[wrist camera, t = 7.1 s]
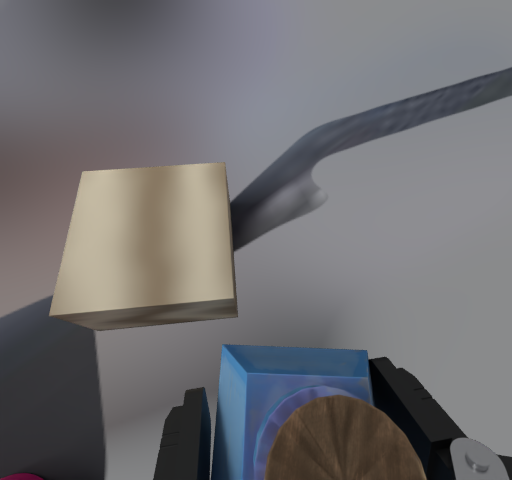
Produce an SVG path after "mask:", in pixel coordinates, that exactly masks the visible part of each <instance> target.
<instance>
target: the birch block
mask: <svg viewBox="0 0 512 480" xmlns="http://www.w3.org/2000/svg"><path fill="white" fill-rule="evenodd" d="M49 316H51V317H55V318H58V319H61V320H64V321H68V322H71V323H74V324H77V325H81V326H84V327H87V328H90V329H94V330H97V331H105V330H115V329H125V328H134V327H146V326H156V325H165V324H175V323H185V322H196V321H206V320H216V319H226V318H236V317H238V311H237V296H236V282H235V267H234V252H233V239H232V225H231V210H230V199H229V192H228V183H227V176H226V167H225V162H223V163H208V164H191V165H176V166H161V167H146V168H131V169H116V170H101V171H85V172H82V176H81V180H80V185H79V189H78V193H77V197H76V202H75V206H74V210H73V215H72V219H71V223H70V227H69V232H68V236H67V240H66V244H65V249H64V253H63V257H62V262H61V266H60V270H59V274H58V279H57V283H56V288H55V292H54V296H53V300H52V304H51V309H50V313H49Z"/></svg>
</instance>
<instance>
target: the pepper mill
mask: <svg viewBox="0 0 512 480" xmlns="http://www.w3.org/2000/svg"><path fill="white" fill-rule="evenodd" d="M0 480H43V479H42V478H40V477H38V476H36V475H33V474H29V473H19V474H13V475H9V476H6V477H4V478H1V479H0Z"/></svg>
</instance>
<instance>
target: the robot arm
mask: <svg viewBox="0 0 512 480" xmlns="http://www.w3.org/2000/svg"><path fill="white" fill-rule="evenodd" d="M368 361H369V367H370V375H371V382H372V389H373V396H374V404H375V408H377V409H379V410H381V411H382V412H384V413H385V414H386V415H387V416H388V417H389V418H390V419H391V420H392V421H393V422H394V423H395V424H396V425H397V426H398V427H399V428H400V429H401V430H402V431H403V432H404V434H405V435H406V437H407V438H408V440H409V442H410V444H411V445H412V447H413V449H414V450H415V452H416V454H417V456H418V457H419V459H420V461H421V463H422V467H423V470H424V473H425V476H426V479H427V480H512V457H508V456H501V455H497V454H495V453H494V452H493V451H492V450H491V449H490V448H488V447H487V446H485V445H484V444H482V443H480V442H478V441H476V440H473V439H469V438H468V437H467V436H466V435H465V434H464V433H463V432H462V431H461V429H460V428H459V427H458V426H457V425H456V424H455V422H454V421H453V420H452V419H451V418H450V417H449V416H448V414H447V413H446V412H445V411H444V410H443V409H442V408H441V406H440V405H439V404H438V403H437V402H436V400H435V399H433V398H432V396H431V395H430V394H429V392H428V391H427V390H425V389H424V387H423V385H422V384H421V383H420V382H419V381H418V380H417V378H415V376H413V375H412V374H410V373H409V372H408V371H406V370H405V369H403V368H398V369H396V367H395V366H394V365H393V364H392V362H391V361H390V360H389V359H388V358H387V357H381V358H375V359H369V360H368ZM210 444H211V420H210V413H209V407H208V402H207V397H206V392H205V388H204V387H202V388H197V389H191V390H186V392H185V397H184V404H183V406H178V407H173V408H172V410H171V412H170V413H169V415H168V417H167V418H166V420H165V424H164V429H163V435H162V439H161V444H160V450H159V453H158V458H157V464H156V468H155V474H154V479H153V480H210V447H211V445H210Z"/></svg>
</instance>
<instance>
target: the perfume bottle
mask: <svg viewBox="0 0 512 480" xmlns="http://www.w3.org/2000/svg"><path fill="white" fill-rule="evenodd" d="M211 480H427V479H426V476H425V473H424V470H423V467H422V463H421V461H420V459H419V457H418V456H417V454H416V452H415V450H414V449H413V447H412V445H411V444H410V442H409V440H408V438H407V437H406V435H405V434H404V432H403V431H402V430H401V429H400V428H399V427H398V426H397V425H396V424H395V423H394V422H393V421H392V420H391V419H390V418H389V417H388V416H387V415H386V414H385V413H384V412H382V411H381V410H379V409H377V408H375V404H374V396H373V389H372V382H371V375H370V367H369V361H368V353H367V350H347V349H322V348H299V347H274V346H250V345H225V344H223V345H222V355H221V367H220V378H219V392H218V402H217V413H216V426H215V437H214V450H213V461H212V472H211Z"/></svg>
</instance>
